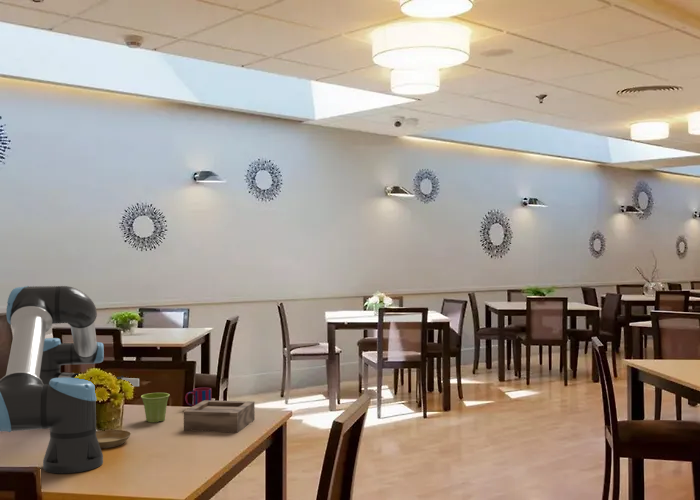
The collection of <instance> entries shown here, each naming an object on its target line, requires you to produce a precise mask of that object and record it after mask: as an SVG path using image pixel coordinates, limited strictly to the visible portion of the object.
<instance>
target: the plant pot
mask: <svg viewBox="0 0 700 500" xmlns="http://www.w3.org/2000/svg"><path fill="white" fill-rule="evenodd" d="M170 396H171V395H170V393H167V392H151V393H144V394H142V395H141V396H140V398H141V399H142V403H143V408H144V414H145V421H146V422H148V423H158V422H164V421H165V420H166V413H167V404H168V400H169V397H170Z"/></svg>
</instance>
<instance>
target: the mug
mask: <svg viewBox="0 0 700 500" xmlns="http://www.w3.org/2000/svg"><path fill="white" fill-rule="evenodd" d="M190 394H192V403H189V402H188V401H189V400H188V396H189V395H190ZM184 399H185V403H186V404H187V405H188V406H190V407H193V406H194V405H196V404H198V403H200V402H202V401H204V400H212V388H211V387H197V388H193V389H192V391H189V392H187V393H186V394H185V397H184Z"/></svg>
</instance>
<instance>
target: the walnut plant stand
mask: <svg viewBox="0 0 700 500" xmlns="http://www.w3.org/2000/svg"><path fill="white" fill-rule="evenodd" d="M255 412H256V411H255V401H252V400H251V401H243V400H216V399H215V400H213V399H211V400H204V401H202V402H200V403H198V404H196V405H194V406H190V407H189V408H187V409H185V410H184V411H183V431H184V432H187V431H189V432H215V433H217V432H218V433H239V432H240V431H241V430H243V429H245V427H247V426H249V423H250V424H251V423H252V422H254V421H255V416H256V415H255V414H256V413H255ZM253 420H254V421H253Z"/></svg>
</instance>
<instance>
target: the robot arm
mask: <svg viewBox="0 0 700 500" xmlns="http://www.w3.org/2000/svg"><path fill="white" fill-rule="evenodd" d="M6 303H7V305H6V309H5V310H6V313H5V314H6V321H7V323H8V324H9V325H11V327H12V328H13V330H14V331H13V335H12V342H11V346H10V347H11V348H10V351H9V352H10V353H9V357H8V362H7V368H6V373H5V375H4V376H3V377H2V378H1V379H0V432H1V433H2V432H7V433H12V432H19V431H23V432H24V431H33V430H45V429H46V430H47V429H49V441H48V445H47V448H46V451H45V453H44V455H43V460H42V469H43V471H45V472H46V473H51V474H75V473H81V472H87V471H90V470H93V469H96V468H99V467H101V466H102V465H103V464H104V454H103V450H102V448H100V445H99V442H98V439H97V436H96V431H97V414H96V413H97V412H96V410H97V409H96V401H97V396H96V393H95V385H94V384H93V383H92V382H91V381H88V380H85V379H79V378H74V377H75V376H76V375H78V374H82V373H81V372H75V373H74V372H61V368H62V367H61V366H64V365H65V366H69V365H90V364H92V365H94V364H100V363H102V362H104V357H105V354H104V353H105V351H104V349H105V347H104V343H103V342H99V341H98V340H97V334H96V325H95V321H96V320H97V316H98V313H97V307H96V305H95V302H94V301H93V300H92V299H91V298H90V296H89V295H87V294H86V293H85V292H83V291H82V290H80V289H78V288H76V287H74V286H73V287H72V286H68V285H57V286H56V285H54V286H52V285H51V286H50V285H48V286H43V285H42V286H40V285H39V286H38V285H37V286H34V285H33V286H29V285H25V286H17V287H15V288H13V289H12V290H11V291H10V293H9V295H8V297H7V302H6ZM54 324H55V325H57V324H68V325H69V326H70V330H71V336H72V342H71V343H68V342H67V343H66V342H65V343H62V342H61V339H60V338H58V337H48V338H47V337H46V333H47V332H48V331H49V330H51V328H52V326H53V325H54ZM116 377H117V379H122V380H126V381H129V382H130V383H131V384H132V385H133V386H132V387H140V378H138V377H137V378H135V377H133V378H132V377H130V378H129V377H124V375H121V376H116Z"/></svg>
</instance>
